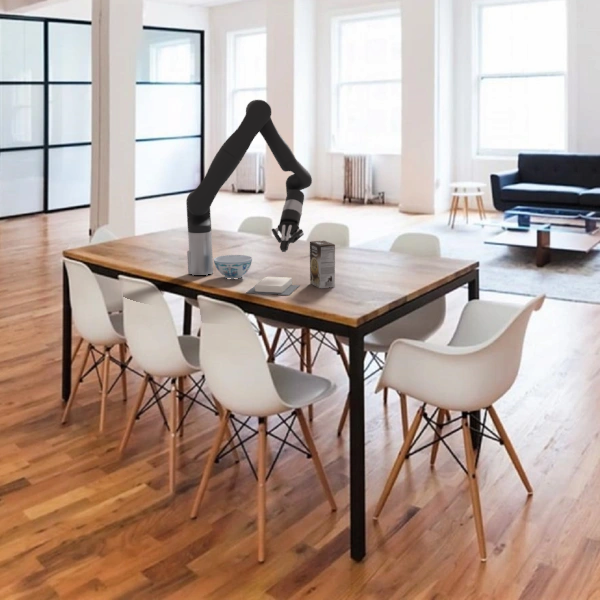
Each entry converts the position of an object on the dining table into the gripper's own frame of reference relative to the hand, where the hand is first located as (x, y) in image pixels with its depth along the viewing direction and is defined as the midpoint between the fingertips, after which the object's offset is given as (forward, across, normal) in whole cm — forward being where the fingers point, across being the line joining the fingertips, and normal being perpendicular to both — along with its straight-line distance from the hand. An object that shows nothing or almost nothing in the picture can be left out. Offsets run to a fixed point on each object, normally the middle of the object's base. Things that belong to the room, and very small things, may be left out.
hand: (283, 250), depth 274 cm
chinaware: (+7, -21, +10) cm, 24 cm away
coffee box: (+11, +16, +6) cm, 20 cm away
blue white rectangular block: (+12, 0, +3) cm, 12 cm away
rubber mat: (+18, 0, -2) cm, 19 cm away
